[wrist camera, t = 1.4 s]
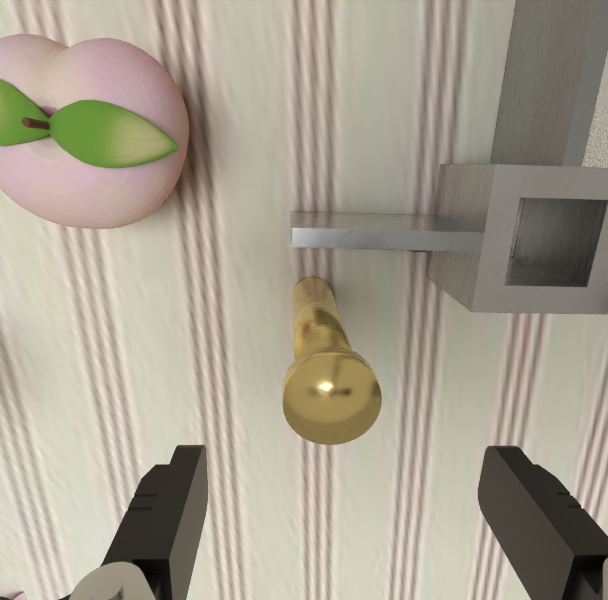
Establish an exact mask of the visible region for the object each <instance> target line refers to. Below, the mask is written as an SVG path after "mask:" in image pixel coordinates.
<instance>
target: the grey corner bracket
mask: <svg viewBox="0 0 608 600" xmlns="http://www.w3.org/2000/svg"><path fill="white" fill-rule="evenodd" d="M607 51H608V0H516V6H515V12H514V18H513V25H512V31H511V37H510V43H509V50H508V56H507V62H506V68H505V75H504V81H503V87H502V93H501V100H500V106H499V112H498V118H497V125H496V131H495V137H494V144H493V150H492V156H491V162H490V164H441V166H440V174H439V182H438V190H437V198H436V206H435V214H434V215H399V214H362V213H325V212H291V240H292V247H301V248H345V249H388V250H408V251H414V252H426V251H428V250H430V254H429V262H428V270H427V277H428V278H429V279H431V280H432V281H433V282H434V283H436V284H437V285H438V286H439V287H441V288H442V289H443V290H444V291H446V292H447V293H448V294H449V295H451V296H452V297H453V298H454V299H456V300H457V301H458V302H459V303H461V304H462V305H463V306H464V307H466V308H467V309H468V310H469V311H471V312H495V313H557V314H607V313H608V168H595V167H582V162H583V158H584V153H585V149H586V144H587V140H588V135H589V131H590V127H591V122H592V118H593V113H594V109H595V104H596V100H597V95H598V91H599V86H600V82H601V77H602V73H603V68H604V64H605V60H606V55H607ZM520 197H525V200H524V205H523V211H522V216H521V221H520V227H519V232H518V237H517V243H516V248H515V253H514V257H509V256H510V250H511V245H512V240H513V234H514V229H515V223H516V218H517V213H518V207H519V202H520Z"/></svg>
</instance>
